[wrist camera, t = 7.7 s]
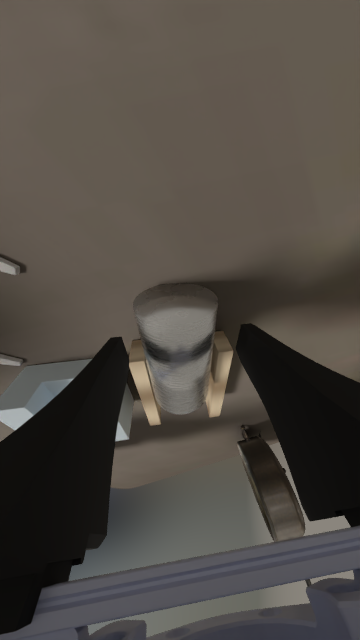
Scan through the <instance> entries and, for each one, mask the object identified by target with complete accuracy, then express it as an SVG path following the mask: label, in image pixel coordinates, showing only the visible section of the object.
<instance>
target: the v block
mask: <svg viewBox="0 0 360 640" xmlns="http://www.w3.org/2000/svg"><path fill="white" fill-rule="evenodd" d="M91 360H92V359H86V360H77V361H68V362H59V363H50V364H41V365H32V366H26V367H25V368H24V369H23V370H22V371H21V373H20V374H19V375H18V376H17V377H16V378H15V380H14V381H13V382H12V383H11V384H10V386H9V387H8V388H7V389H6V390H5V391H4V393H3V394H2V395H1V396H0V421H1V422H3V423H4V424H6V425H7V426H9V427H10V428H12V429H14V430H16V429H18V428H19V427H20V426H21V425H23V424H24V423H25V422H26V421H27V420H29V419H30V418H31V417H32V416H34V415H35V414H36V413H37V412H38V411H40V410H41V409H42V408H43V407H44V406H45V405H47V404H48V403H49V402H50V401H51V400H52V399H53V398H54V397H55V396H57V395H58V394H59V393H60V392H61V391H62V390H63V389H64V388H65V387H66V386H67V385H68V384H69V383H70V382H71V381H72V380H73V379H74V378H75V377H76V376H77V375H78V374H79V373H80V372H81V371H82V370H83V369H84V368H85V367H86V365H87V364H88V363H89V362H90V361H91ZM133 405H134V399H133V397H132V394H131V392H130V389H129V387H128V385H127V383H126V388H125V392H124V396H123V401H122V405H121V410H120V414H119V419H118V424H117V432H116V439H115V441H120V440H127V439H129V436H130V428H131V420H132V413H133Z"/></svg>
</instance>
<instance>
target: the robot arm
mask: <svg viewBox="0 0 360 640" xmlns="http://www.w3.org/2000/svg"><path fill="white" fill-rule="evenodd" d="M236 350H237V353H238V356H239V358H240V361H241V363H242V365H243V367H244V369H245V371H246V372H247V374H248V376H249V378H250V380H251V382H252V383H253V385H254V387H255V389H256V391H257V392H258V394H259V396H260V398H261V400H262V402H263V404H264V406H265V408H266V411H267V413H268V415H269V418H270V420H271V422H272V425H273V427H274V430H275V432H276V435H277V437H278V440H279V442H280V445H281V447H282V450H283V453H284V455H285V458H286V461H287V463H288V466H289V469H290V472H291V475H292V478H293V481H294V484H295V486H296V489H297V492H298V495H299V499H300V502H301V505H302V507H303V509H304V511H305V513H306V515H307V517H308V519H309V521H315V520H321V519H327V518H332V517H338V516H343V515H344V516H345V518H346V519H347V521H348V523H349V524H350V526H351V527H350V528H345V529H340V530H335V531H329V532H325V533H319V534H314V535H308V536H303V537H298V538H293V539H287V540H282V541H277V542H272V543H267V544H261V545H256V546H252V547H246V548H240V549H235V550H230V551H225V552H219V553H214V554H209V555H204V556H199V557H194V558H188V559H183V560H178V561H173V562H167V563H162V564H157V565H151V566H146V567H141V568H136V569H130V570H125V571H120V572H115V573H109V574H104V575H99V576H94V577H88V578H83V579H78V580H73V581H69V575H70V571H71V567H72V566H74V565H79V564H82V563H83V560H84V556H85V551H86V550H91V549H96V548H98V547H99V546H100V545H101V543H102V542H103V540H104V539H105V537H106V535H107V523H108V510H109V495H110V485H111V475H112V465H113V456H114V447H115V439H116V432H117V424H118V419H119V414H120V410H121V405H122V401H123V396H124V392H125V388H126V383H127V378H128V371H129V357H128V354H127V352H126V349H125V346H124V343H123V340H122V337H114V338H110V339H109V340H108V341H107V343H106V344H105V345H104V346H103V347H102V348H101V350H100V351H99V352H98V353H97V354H96V355H95V356H94V358H93V359H92V360H91V361H90V362H89V363H88V364H87V365H86V367H85V368H84V369H83V370H82V371H81V372H80V373H79V374H78V375H77V376H76V377H75V378H74V379H73V380H72V381H71V382H70V383H69V384H68V385H67V386H66V387H65V388H64V389H63V390H62V391H61V392H60V393H59V394H58V395H57V396H55V397H54V398H53V399H52V400H51V401H50V402H49V403H48V404H47V405H45V406H44V407H43V408H42V409H41V410H40V411H38V412H37V413H36V414H35V415H34V416H32V417H31V418H30V419H29V420H27V421H26V422H25V423H24V424H23V425H21V426H20V427H19V428H18V429H16V430H15V431H14V432H13V433H11V434H10V435H9V436H8V437H6V438H5V439H4V440H2V441H1V442H0V640H360V383H359V382H357V381H354V380H352V379H350V378H347V377H345V376H343V375H341V374H339V373H337V372H334V371H332V370H330V369H328V368H326V367H324V366H322V365H320V364H318V363H316V362H314V361H313V360H311V359H309V358H307V357H305V356H303V355H302V354H300V353H298V352H296V351H295V350H293V349H291V348H290V347H288V346H286V345H285V344H283V343H281V342H280V341H278V340H277V339H275V338H274V337H272V336H270V335H269V334H267V333H266V332H264V331H263V330H261V329H259V328H258V327H256V326H255V325H253V324H251V323H250V324H241V328H240V332H239V337H238V341H237V346H236ZM350 570H353V573H354V580H351V579H343V578H328V579H323V580H320V581H318V582H316V583H314V584H312V585H310V586H308V587H307V588H306V593H307V595H308V598H309V601H310V603H309V604H299V605H290V606H282V607H273V608H265V609H255V610H248V611H241V612H235V613H230V614H225V615H220V616H215V617H211V618H208V619H204V620H200V621H197V622H193V623H190V624H187V625H184V626H181V627H178V628H175V629H172V630H168V631H165V632H162V633H159V634H156V635H153V636H150V637H147V638H146V623H145V621H144V620H120V621H116V622H113V623H110V624H108V625H106V626H104V627H102V628H101V629H99V630H97V631H96V632H94V633H93V634H91V635H90V636H89V633H88V626H87V625H91V624H96V623H101V622H105V621H110V620H115V619H120V618H125V617H129V616H134V615H139V614H144V613H149V612H153V611H158V610H163V609H168V608H172V607H177V606H182V605H187V604H192V603H197V602H201V601H206V600H211V599H216V598H220V597H225V596H230V595H235V594H240V593H244V592H249V591H254V590H259V589H264V588H268V587H273V586H277V585H283V584H287V583H292V582H297V581H301V580H307V579H312V578H316V577H321V576H326V575H330V574H336V573H340V572H345V571H350Z"/></svg>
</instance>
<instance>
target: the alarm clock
mask: <svg viewBox="0 0 360 640" xmlns="http://www.w3.org/2000/svg"><path fill="white" fill-rule="evenodd" d="M241 429H242V431H243V435H244V438H245V440H242V441H238V442H237V446H238V450H239V453H240V456H241V459H242V462H243V465H244V468H245V471H246V473H247V476H248V479H249V481H250V484H251V487H252V489H253V492H254V495H255V497H256V500H257V502H258V505H259V507H260V510H261V513H262V515H263V518H264V520H265V523H266V525H267V527H268V530H269V532H270V534H271V536H272V538H273V540H274V542H277V541H282V540H287V539H293V538H298V537H302V536H303V535H304V533H305V522H304V517H303V514H302V511H301V508H300V505H299V503H298V500H297V498H296V495H295V493H294V491H293V489H292V486H291V484H290V482H289V480H288V478H287V476H286V474H285V473H286V470H285V469H284V468H282V466H281V465H280V463H279V461H278V459H277V458H276V456H275V454H274V453H273V451H272V450H271V448H270V447H269V445H268V444H267V443H266V442H265V441H264V440H263V439H262V438H261V435H260V434H259V437H257V436H255V437H252V438H249V437H248V435H247V433H246V431H245V427H244V426H241ZM305 581H306V583H307V586H310V585H312V584H311V582H310V579H307V580H305Z"/></svg>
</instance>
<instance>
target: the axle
mask: <svg viewBox="0 0 360 640" xmlns="http://www.w3.org/2000/svg"><path fill="white" fill-rule="evenodd" d="M217 308H218V298H217V296H216V295H215V293H214V292H212V291H211V290H209V289H208V288H205V287H203V286H200V285H195V284H189V283H176V284H163V285H159V286H155V287H152V288H149V289H147V290H145V291H143V292H142V293H140V294H139V295H138V296H137V297H136V298H135V300H134V302H133V309H134V314H135V318H136V322H137V326H138V330H139V334H140V338H141V342H142V346H143V350H144V354H145V359H146V363H147V367H148V371H149V375H150V379H151V383H152V387H153V391H154V395H155V398H156V401H157V402H158V404H159V405H160V406H161V407H162V408H163V409H164V410H166V411H168V412H170V413H173V414H188V413H191V412H193V411H195V410H197V409H198V408H199V407H201V405H202V404H203V403H204V402H205V400H206V398H207V394H208V388H209V379H210V370H211V361H212V352H213V344H214V335H215V326H216V317H217Z"/></svg>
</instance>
